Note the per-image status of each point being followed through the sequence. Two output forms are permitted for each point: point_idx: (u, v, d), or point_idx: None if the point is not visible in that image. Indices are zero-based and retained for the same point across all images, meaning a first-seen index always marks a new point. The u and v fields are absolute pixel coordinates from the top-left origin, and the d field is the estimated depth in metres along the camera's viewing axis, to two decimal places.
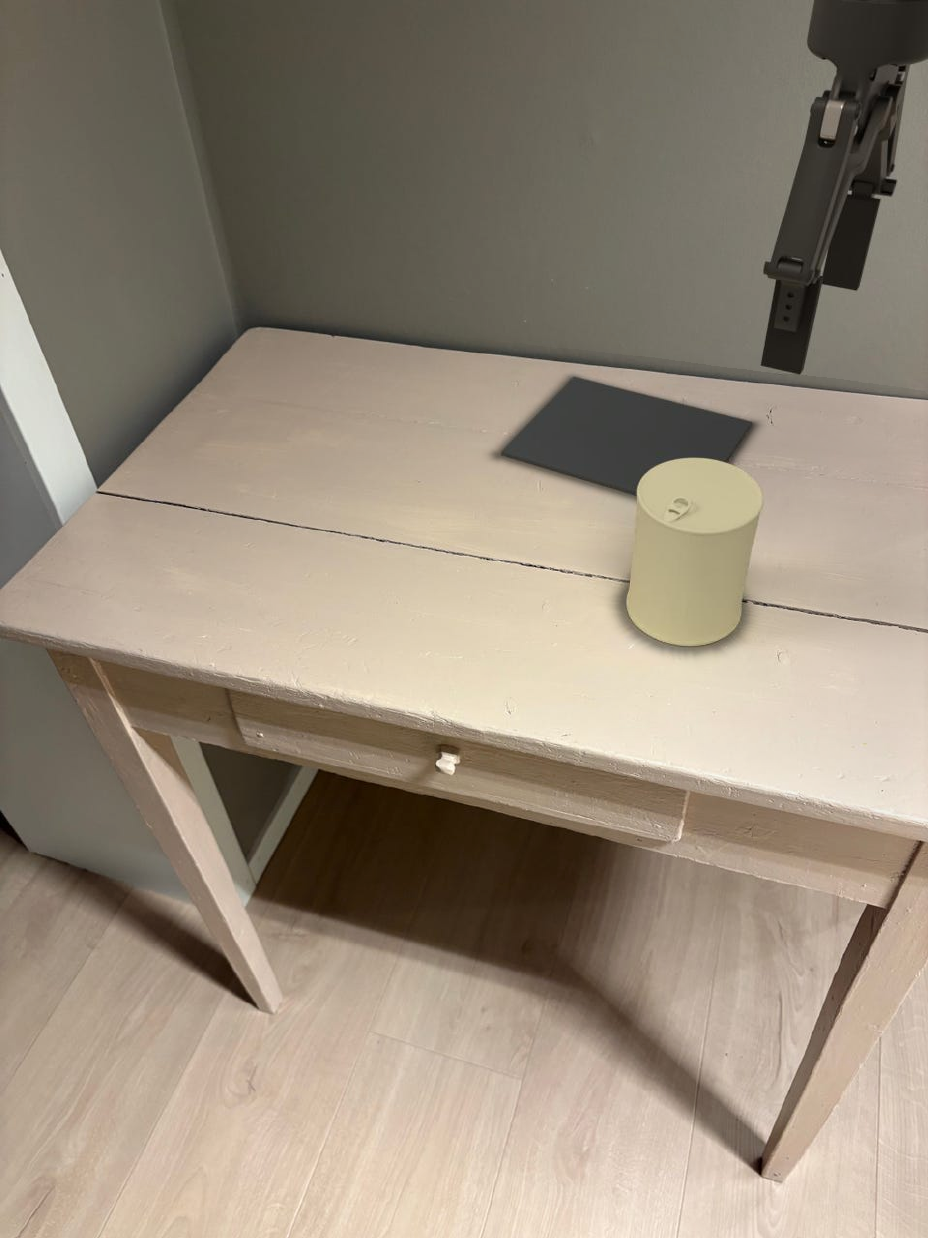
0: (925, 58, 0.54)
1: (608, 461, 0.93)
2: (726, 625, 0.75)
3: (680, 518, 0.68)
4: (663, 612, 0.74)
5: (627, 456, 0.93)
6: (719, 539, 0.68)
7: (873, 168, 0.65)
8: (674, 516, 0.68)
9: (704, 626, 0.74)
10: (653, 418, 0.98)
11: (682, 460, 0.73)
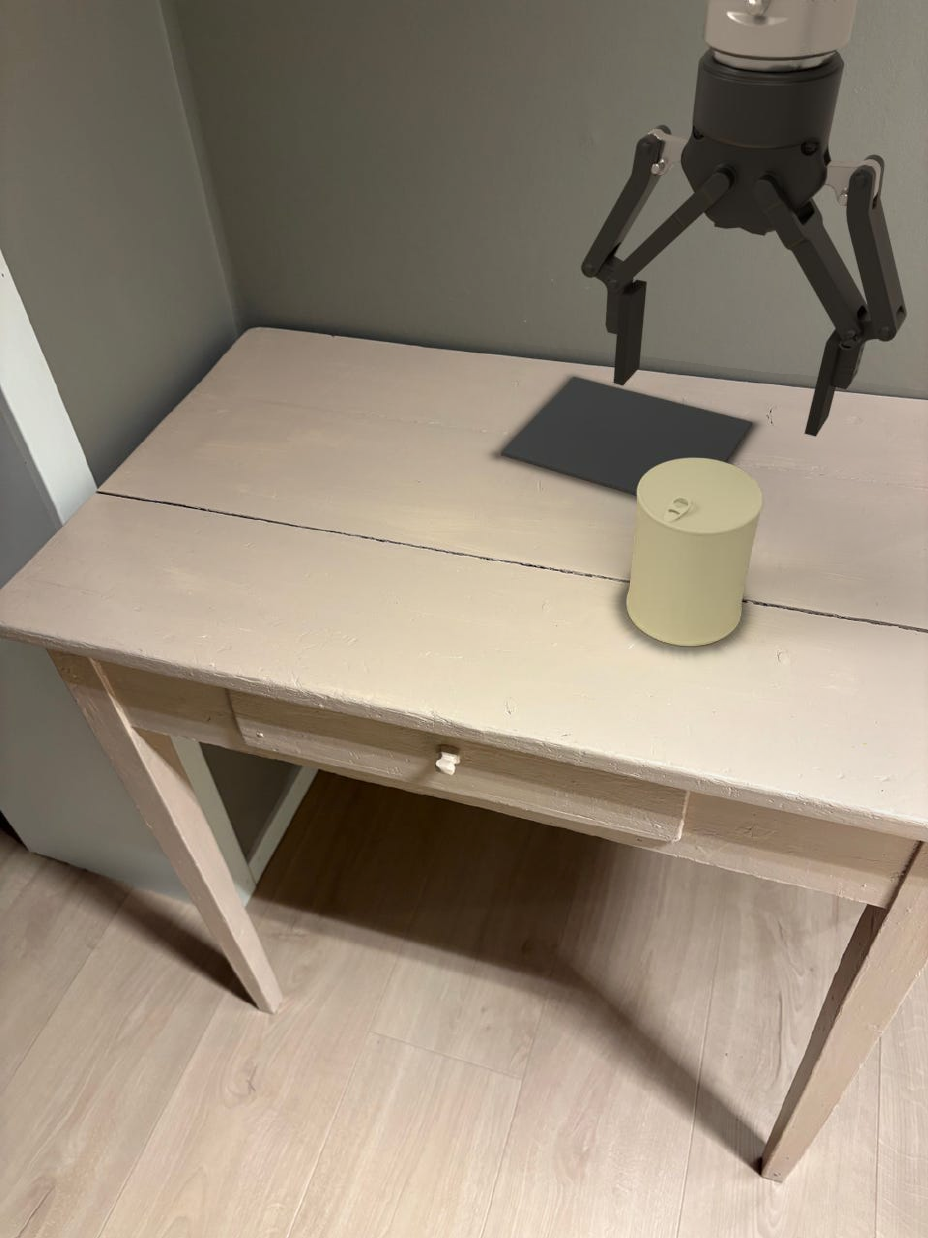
0: None
1: (608, 461, 0.93)
2: (726, 625, 0.75)
3: (680, 518, 0.68)
4: (663, 612, 0.74)
5: (627, 456, 0.93)
6: (719, 539, 0.68)
7: None
8: (674, 516, 0.68)
9: (704, 626, 0.74)
10: (653, 418, 0.98)
11: (682, 460, 0.73)
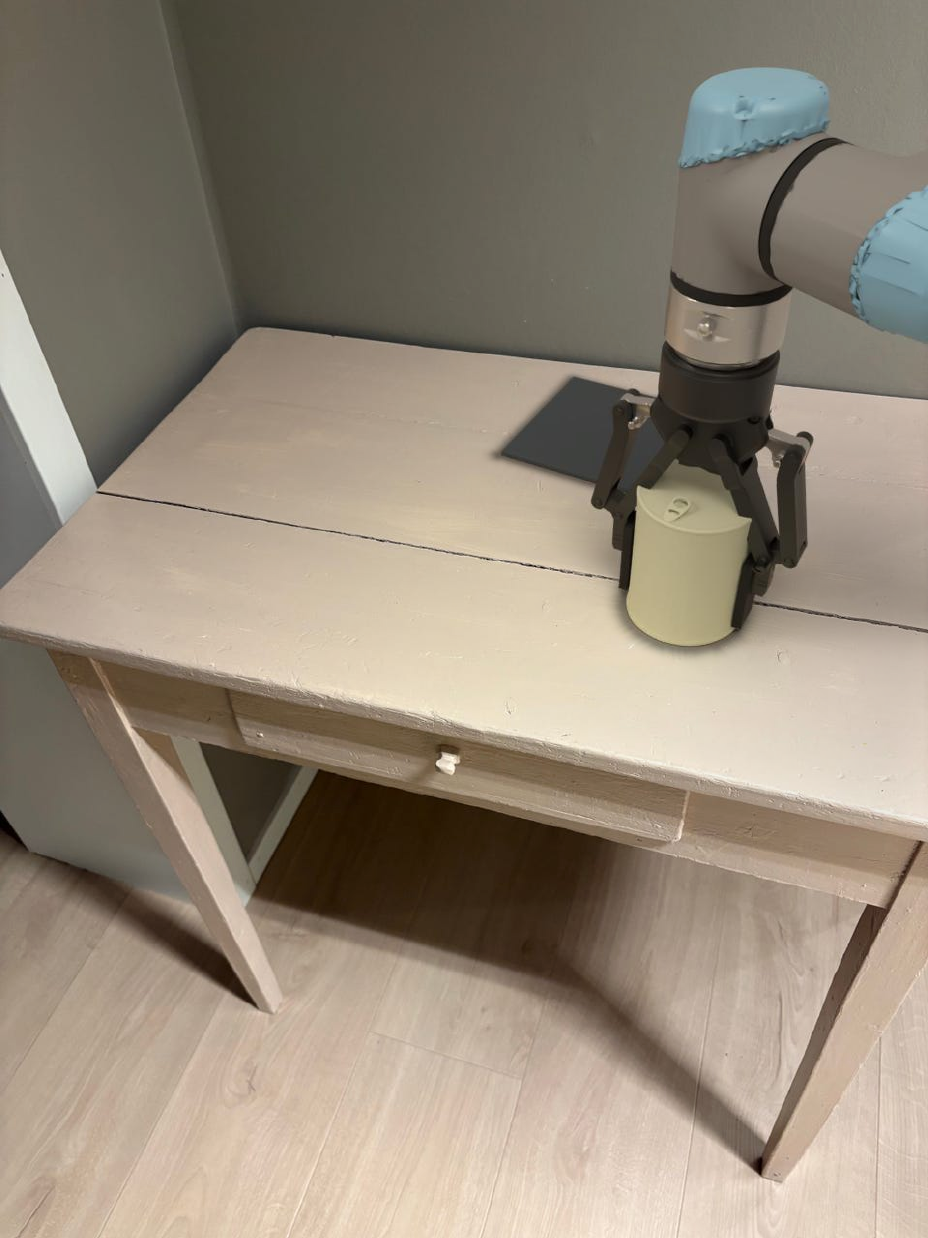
0: None
1: None
2: (726, 625, 0.75)
3: (680, 518, 0.68)
4: (663, 612, 0.74)
5: None
6: (718, 539, 0.68)
7: None
8: (674, 516, 0.68)
9: (704, 626, 0.74)
10: None
11: None
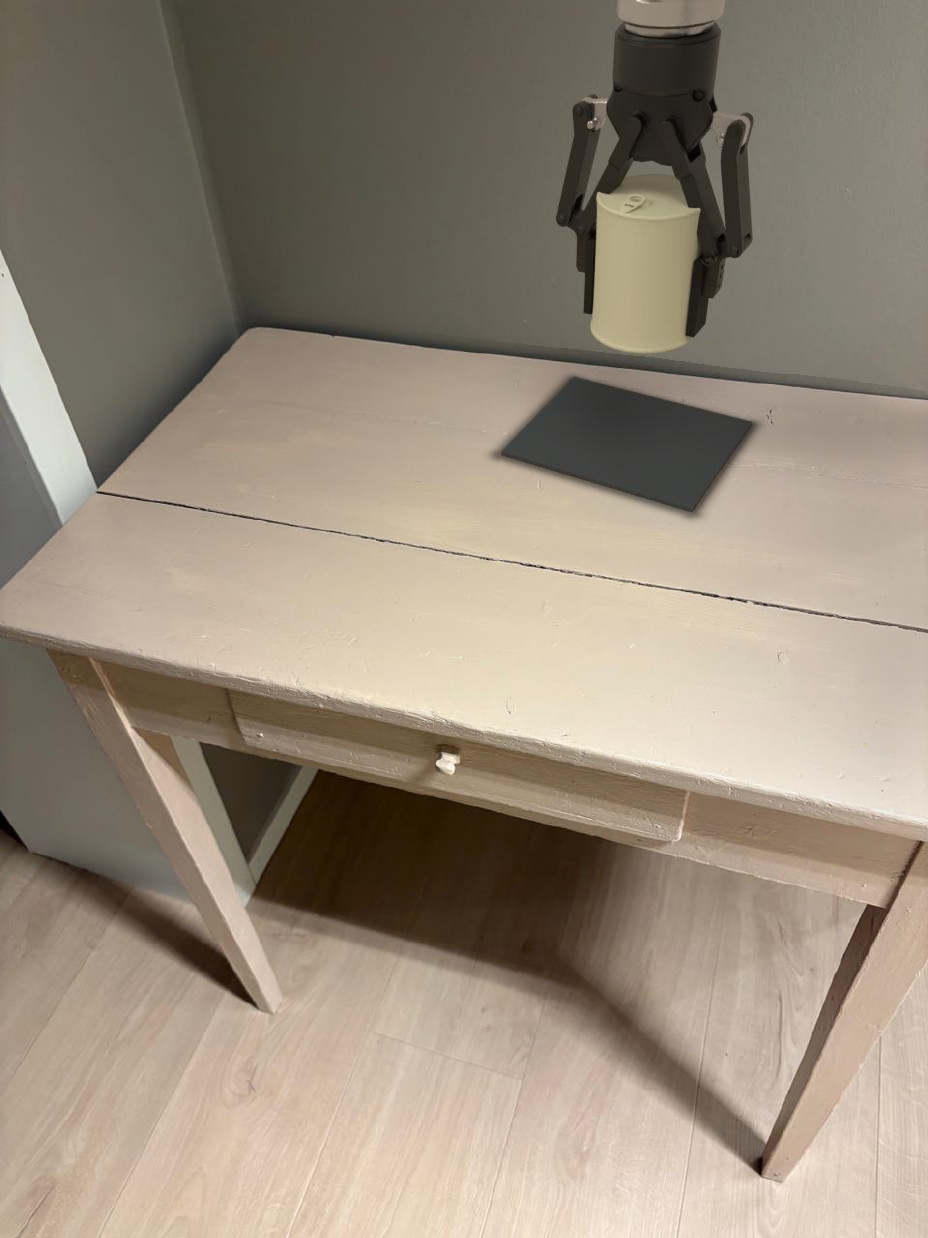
0: None
1: (608, 461, 0.93)
2: (681, 333, 0.81)
3: (635, 210, 0.75)
4: (622, 317, 0.80)
5: (627, 456, 0.93)
6: (670, 226, 0.74)
7: None
8: (629, 208, 0.75)
9: (660, 330, 0.80)
10: (653, 418, 0.98)
11: (639, 175, 0.80)
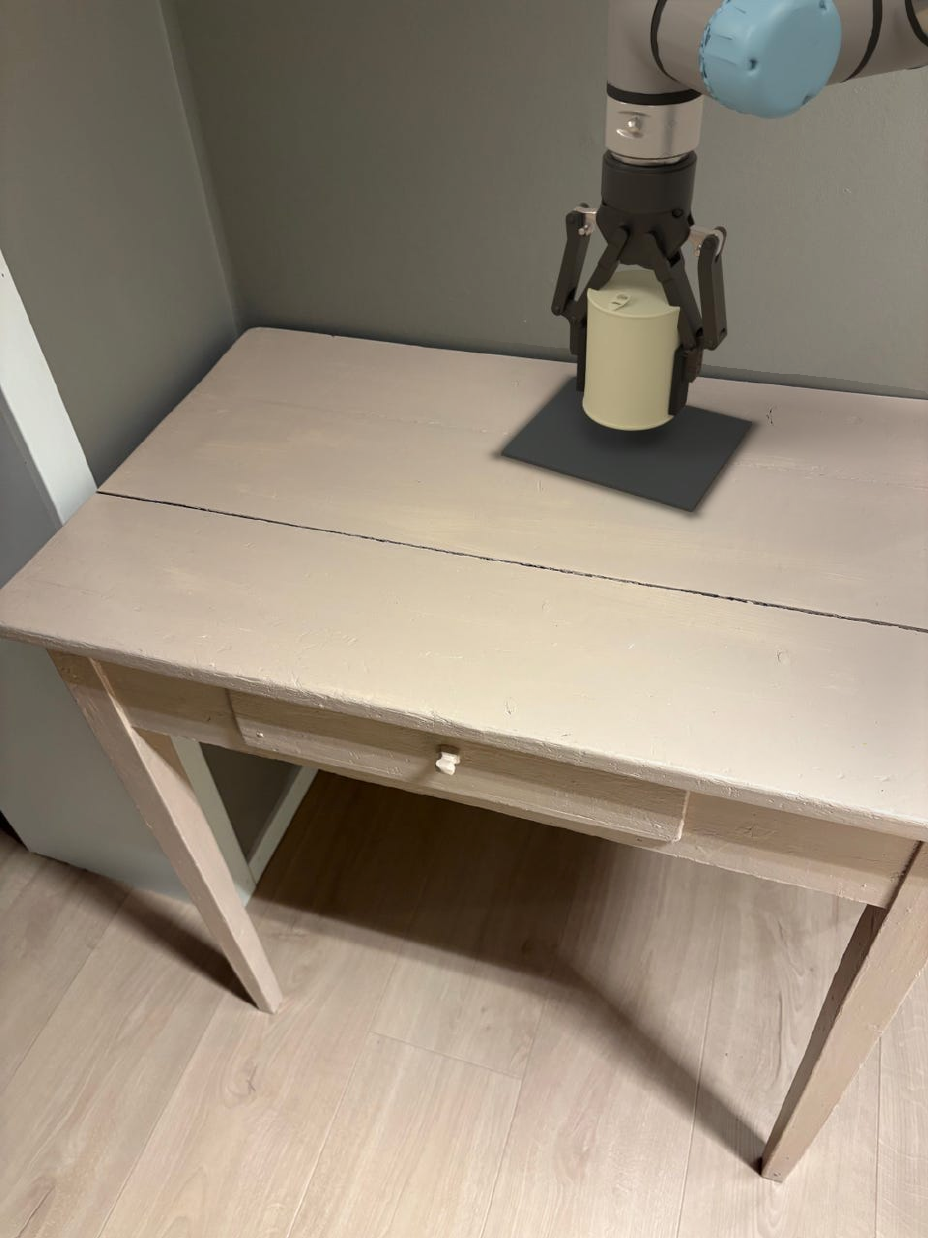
0: None
1: (608, 461, 0.93)
2: (664, 412, 0.90)
3: (621, 308, 0.83)
4: (610, 398, 0.88)
5: (627, 456, 0.93)
6: (652, 323, 0.82)
7: None
8: (616, 306, 0.83)
9: (645, 410, 0.89)
10: None
11: (626, 271, 0.88)
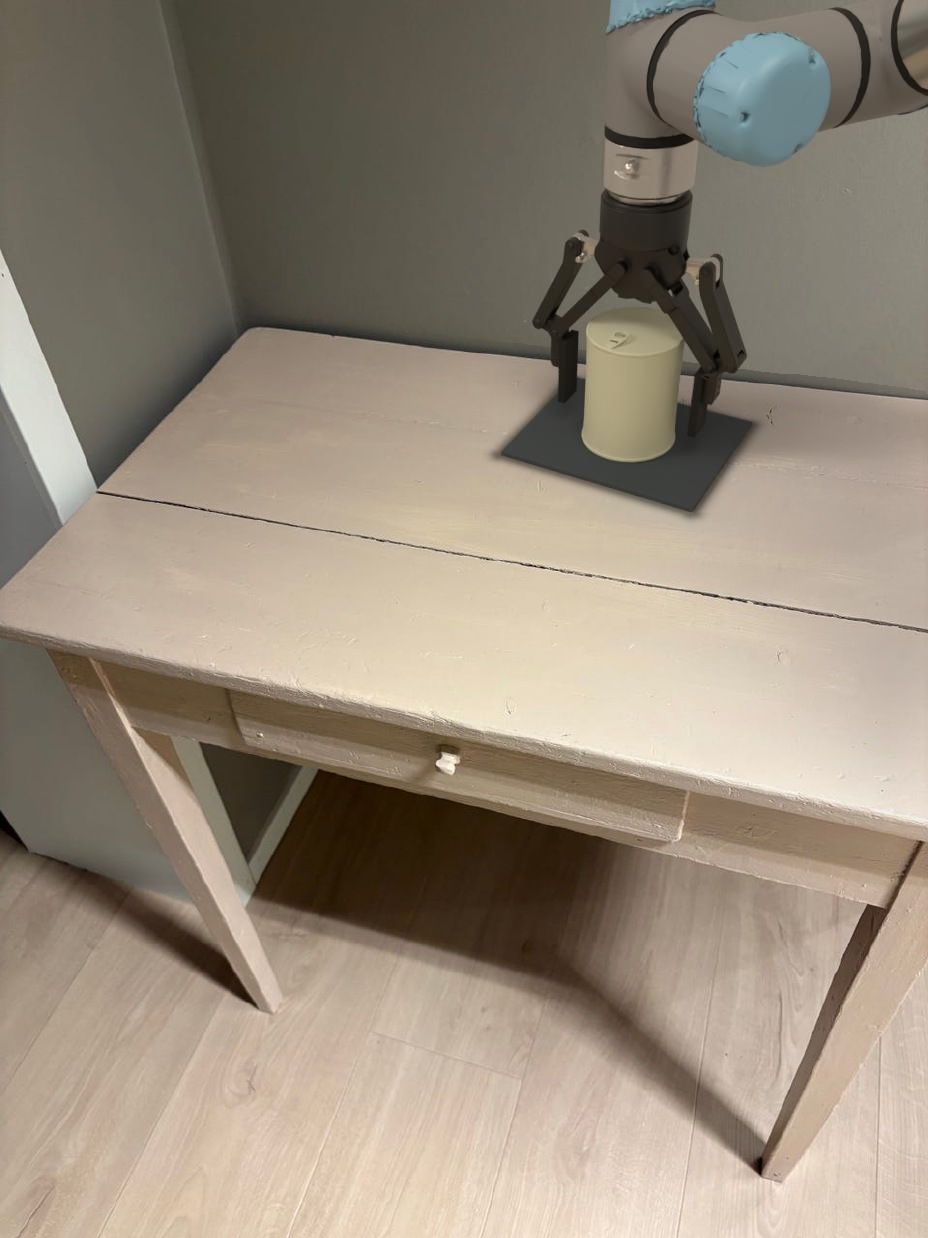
0: None
1: (608, 461, 0.93)
2: (661, 445, 0.92)
3: (619, 346, 0.86)
4: (609, 432, 0.91)
5: None
6: (649, 361, 0.85)
7: None
8: (614, 344, 0.86)
9: (642, 443, 0.91)
10: None
11: (624, 308, 0.91)
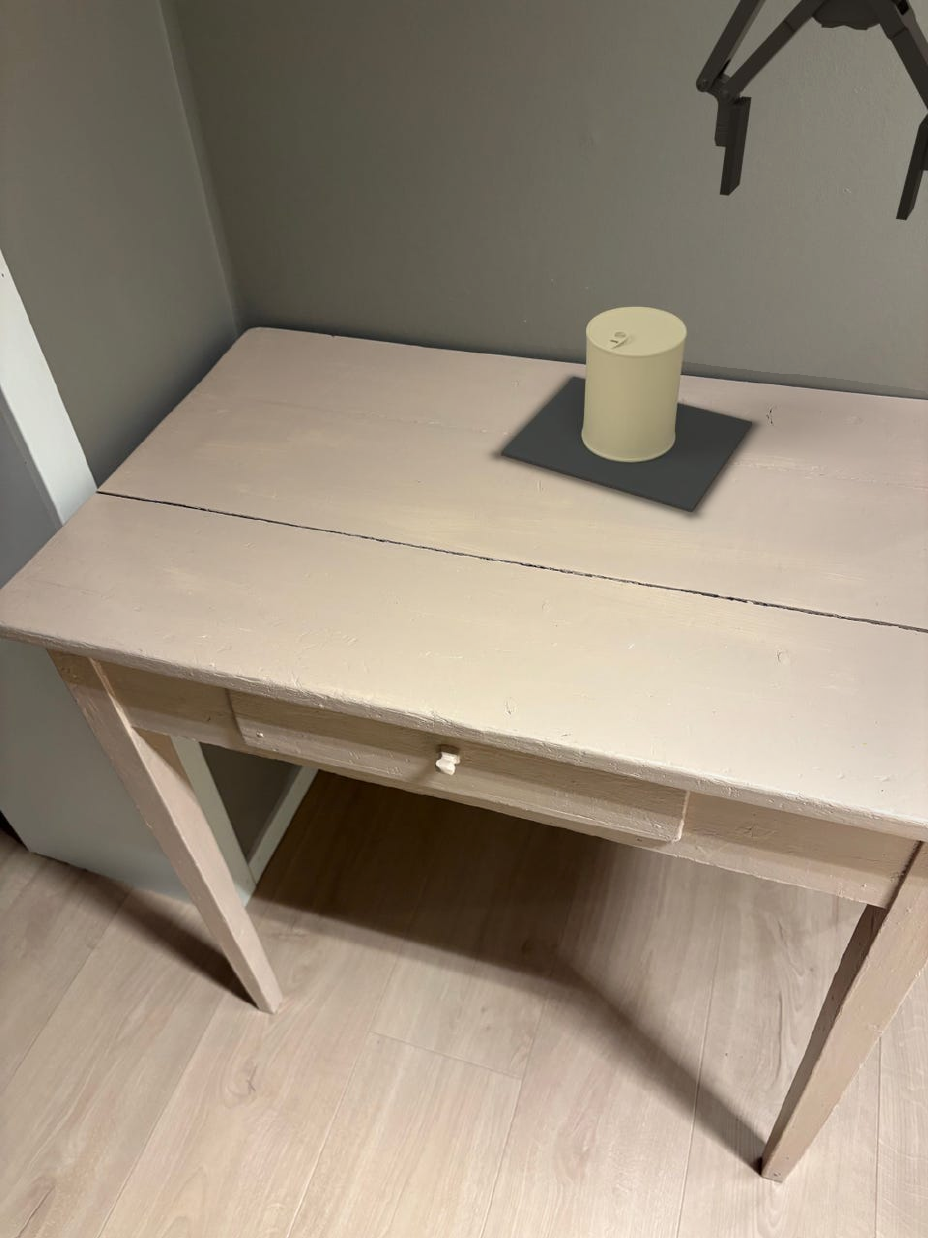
0: None
1: (608, 461, 0.93)
2: (661, 445, 0.92)
3: (619, 346, 0.86)
4: (609, 432, 0.91)
5: None
6: (649, 361, 0.85)
7: (768, 62, 0.71)
8: (614, 344, 0.86)
9: (642, 443, 0.91)
10: None
11: (624, 308, 0.91)
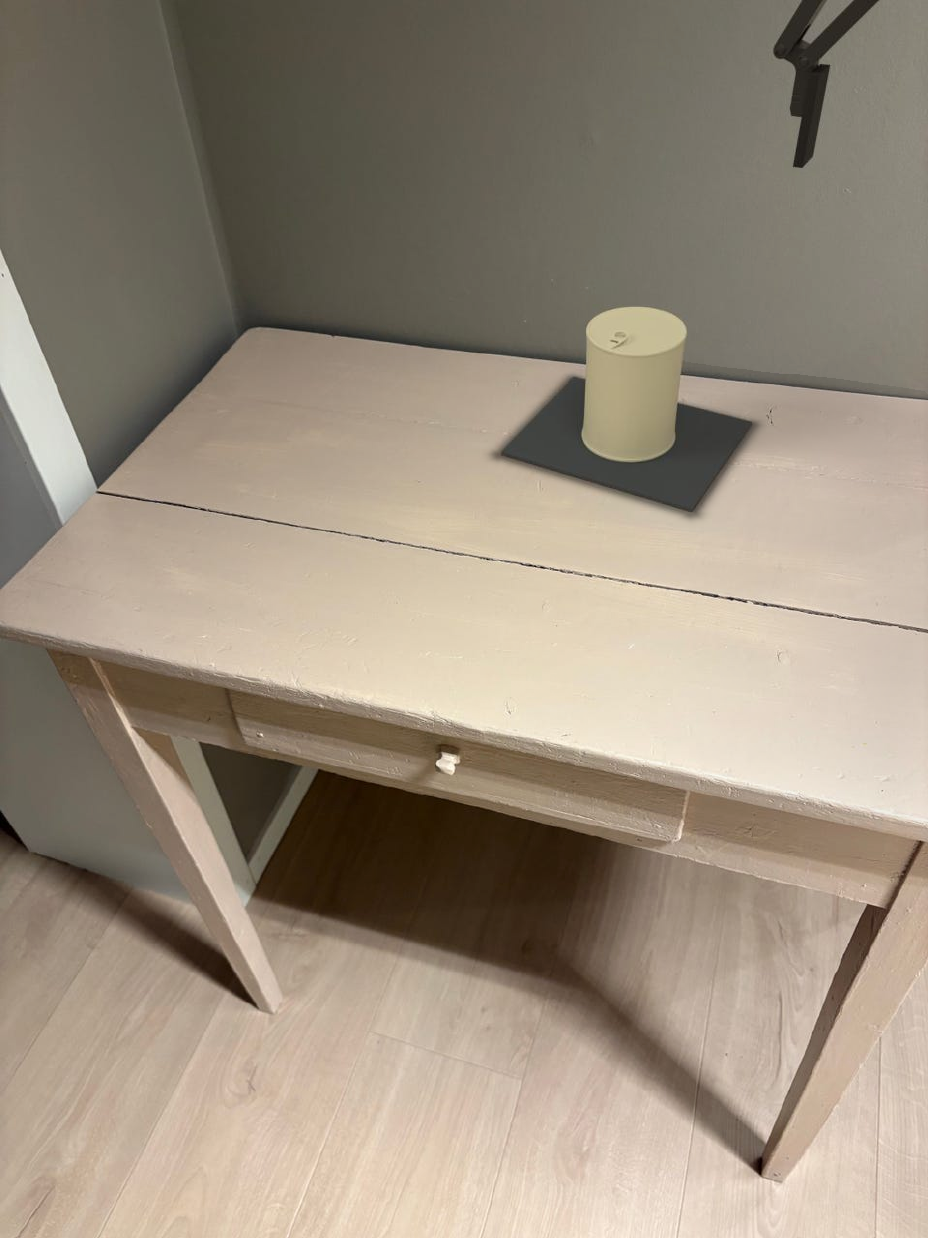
0: None
1: (608, 461, 0.93)
2: (661, 445, 0.92)
3: (619, 346, 0.86)
4: (609, 432, 0.91)
5: None
6: (649, 361, 0.85)
7: None
8: (614, 344, 0.86)
9: (642, 443, 0.91)
10: None
11: (624, 308, 0.91)
